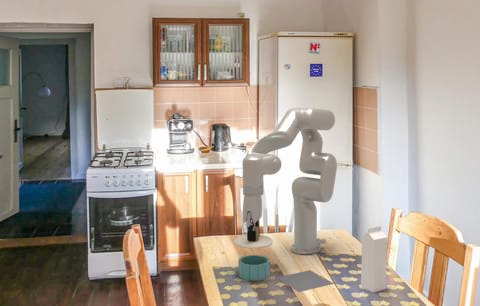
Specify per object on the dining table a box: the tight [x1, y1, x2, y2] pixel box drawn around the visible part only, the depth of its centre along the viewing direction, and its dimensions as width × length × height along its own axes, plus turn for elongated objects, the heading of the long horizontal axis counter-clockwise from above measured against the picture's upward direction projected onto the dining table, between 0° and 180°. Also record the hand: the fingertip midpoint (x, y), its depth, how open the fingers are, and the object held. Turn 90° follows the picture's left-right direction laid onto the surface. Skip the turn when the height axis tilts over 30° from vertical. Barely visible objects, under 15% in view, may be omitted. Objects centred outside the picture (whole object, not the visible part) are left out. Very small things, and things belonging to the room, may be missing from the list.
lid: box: [234, 226, 274, 250], centre depth 190 cm, size 14×14×6 cm
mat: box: [275, 270, 335, 293], centre depth 185 cm, size 15×15×1 cm
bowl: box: [238, 254, 271, 282], centre depth 192 cm, size 12×12×6 cm
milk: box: [360, 225, 388, 293], centre depth 176 cm, size 6×6×22 cm
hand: (253, 238), depth 190 cm, fingers closed on lid, 4 cm apart
